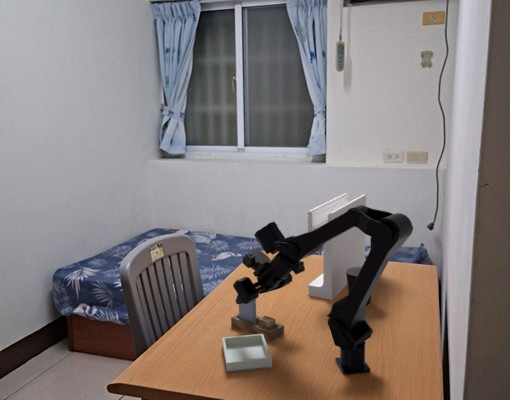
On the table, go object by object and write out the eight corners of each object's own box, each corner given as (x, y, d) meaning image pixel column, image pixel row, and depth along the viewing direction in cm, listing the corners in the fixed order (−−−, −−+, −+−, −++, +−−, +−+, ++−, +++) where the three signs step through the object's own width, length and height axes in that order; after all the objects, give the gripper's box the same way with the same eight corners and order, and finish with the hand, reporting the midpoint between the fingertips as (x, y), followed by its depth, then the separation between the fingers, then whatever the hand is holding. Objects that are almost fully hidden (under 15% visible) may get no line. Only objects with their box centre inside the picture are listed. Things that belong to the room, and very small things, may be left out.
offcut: (275, 326, 127) (275, 318, 127) (269, 330, 125) (269, 322, 125) (265, 323, 130) (265, 315, 129) (258, 326, 128) (258, 319, 127)
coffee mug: (353, 294, 153) (354, 265, 151) (378, 301, 148) (379, 270, 146) (335, 306, 144) (335, 275, 142) (361, 313, 139) (362, 281, 137)
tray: (272, 368, 111) (271, 358, 110) (226, 372, 109) (226, 363, 109) (263, 342, 123) (262, 333, 123) (222, 346, 122) (222, 337, 121)
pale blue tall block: (256, 327, 132) (255, 293, 130) (252, 329, 130) (251, 295, 128) (243, 322, 135) (242, 289, 133) (239, 324, 134) (238, 291, 132)
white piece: (331, 299, 150) (332, 213, 144) (308, 295, 154) (307, 211, 148) (364, 267, 179) (366, 194, 174) (344, 264, 183) (345, 193, 178)
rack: (284, 333, 127) (284, 325, 127) (271, 341, 124) (271, 332, 123) (244, 319, 137) (244, 311, 137) (231, 325, 133) (231, 317, 133)
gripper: (283, 235, 131) (254, 264, 140) (237, 250, 117) (208, 282, 126) (307, 268, 127) (275, 296, 136) (262, 288, 113) (230, 318, 123)
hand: (248, 297), depth 131 cm, fingers open, 9 cm apart
